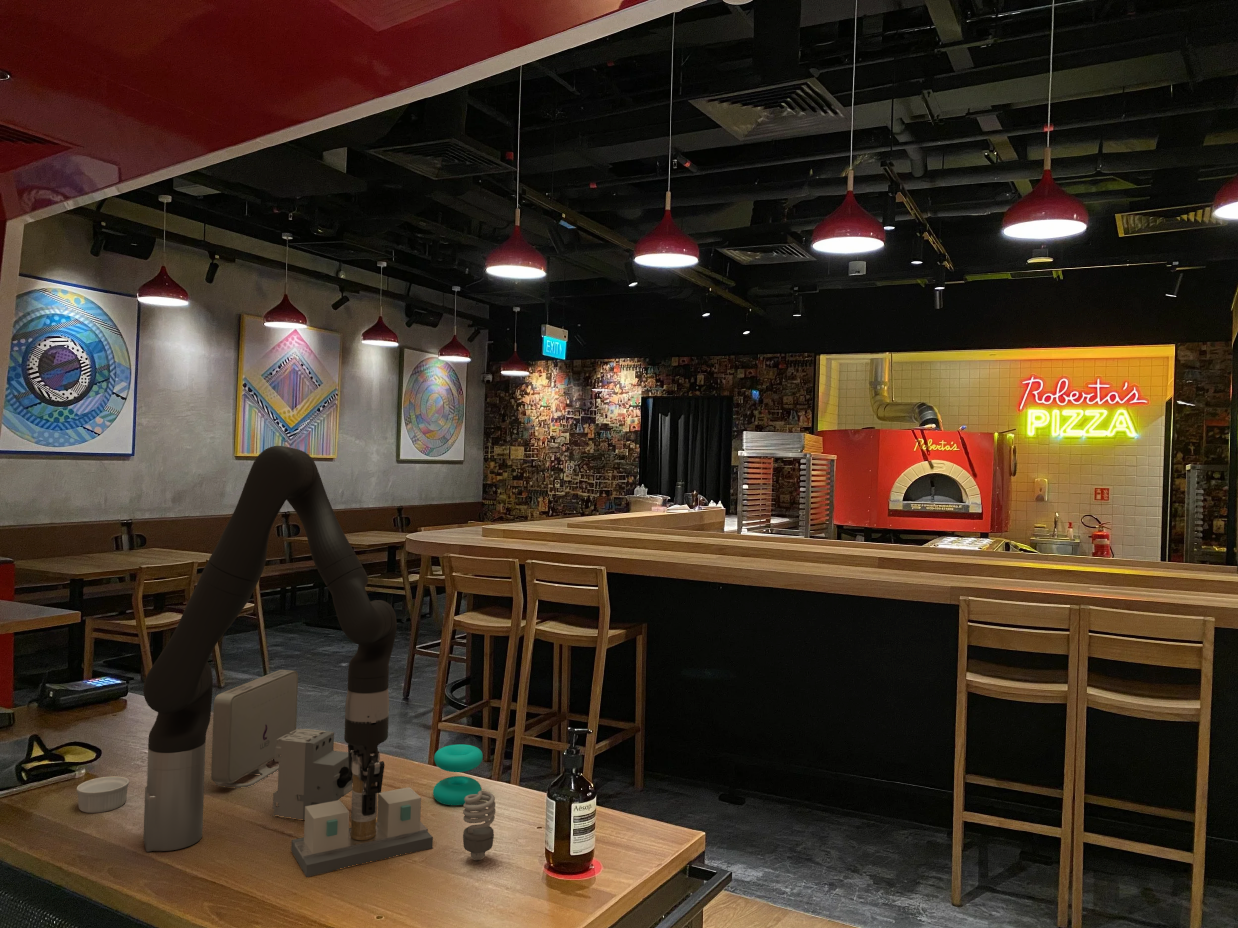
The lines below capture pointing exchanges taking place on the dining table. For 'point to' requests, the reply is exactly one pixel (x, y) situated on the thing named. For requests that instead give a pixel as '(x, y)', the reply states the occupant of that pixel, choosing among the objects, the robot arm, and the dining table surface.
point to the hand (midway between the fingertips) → (363, 808)
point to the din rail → (355, 842)
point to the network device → (252, 726)
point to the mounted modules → (332, 819)
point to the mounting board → (361, 853)
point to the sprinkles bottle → (361, 824)
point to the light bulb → (479, 835)
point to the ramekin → (102, 794)
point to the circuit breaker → (309, 772)
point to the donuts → (457, 761)
